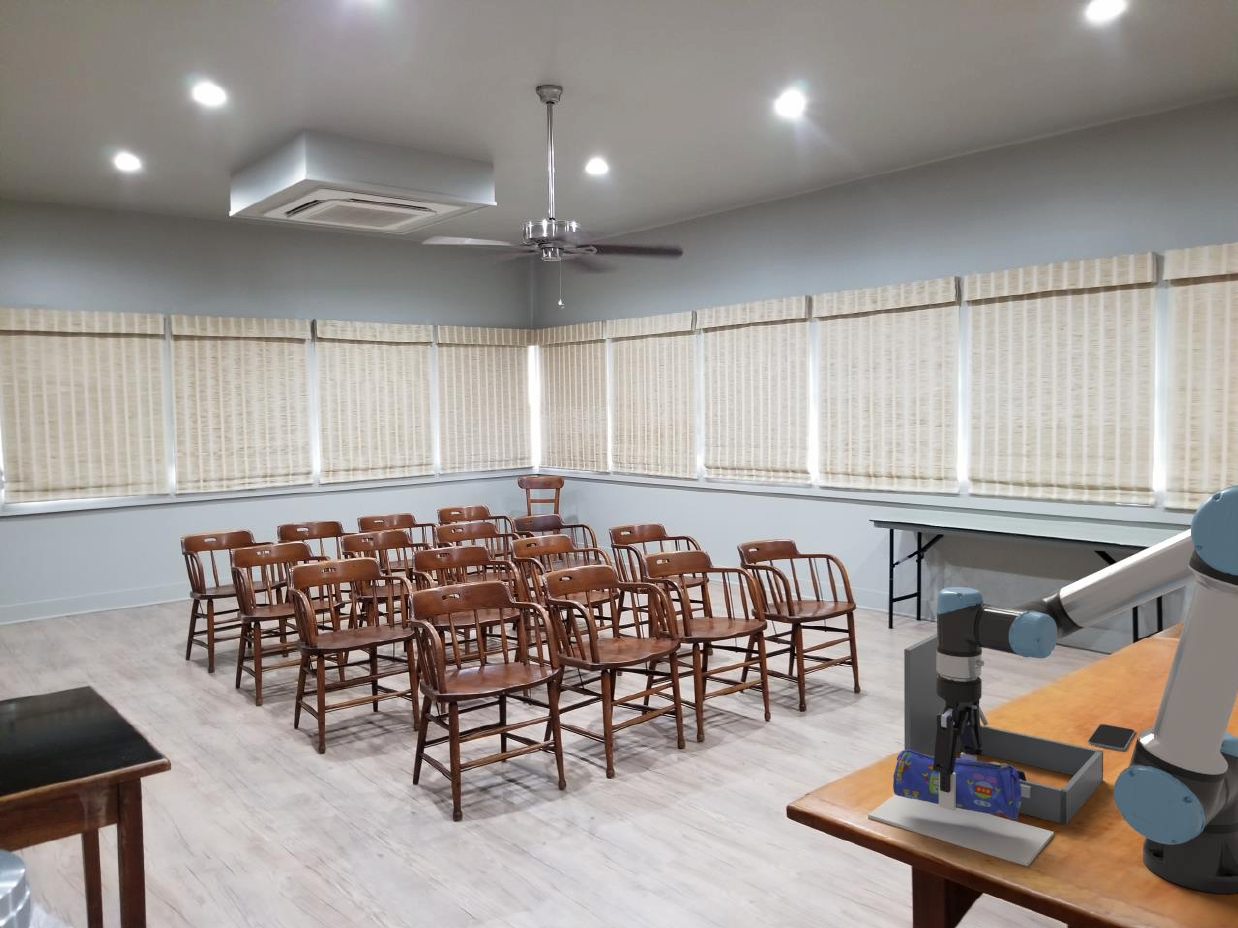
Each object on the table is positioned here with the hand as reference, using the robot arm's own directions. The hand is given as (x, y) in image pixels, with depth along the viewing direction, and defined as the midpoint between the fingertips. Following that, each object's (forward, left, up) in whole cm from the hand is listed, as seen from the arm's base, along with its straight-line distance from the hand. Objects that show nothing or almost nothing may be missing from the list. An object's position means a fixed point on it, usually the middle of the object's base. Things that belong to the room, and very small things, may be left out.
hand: (957, 798), depth 161 cm
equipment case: (+25, 0, -5) cm, 26 cm away
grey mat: (0, 0, -5) cm, 5 cm away
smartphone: (+64, -10, -6) cm, 65 cm away
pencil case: (0, 0, -2) cm, 2 cm away
